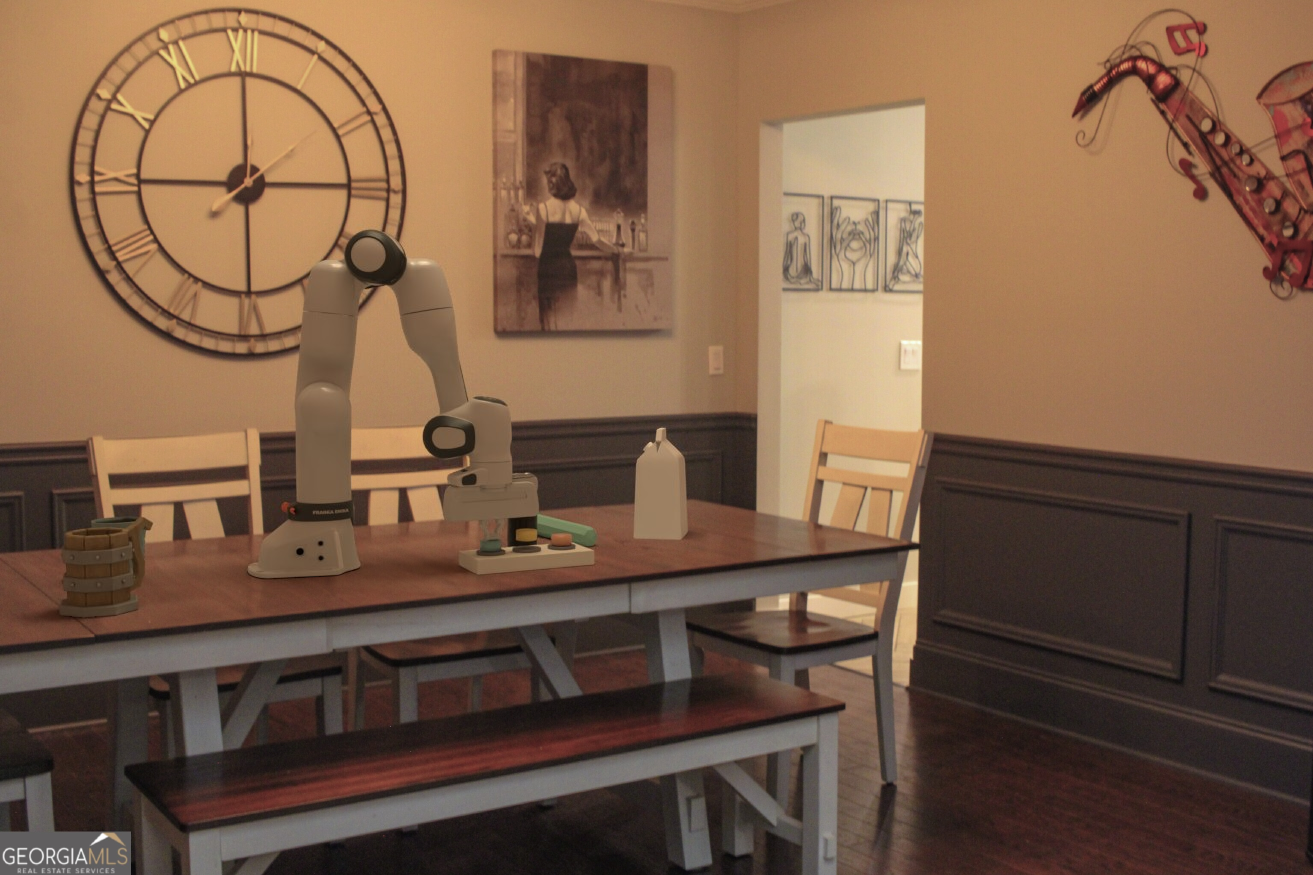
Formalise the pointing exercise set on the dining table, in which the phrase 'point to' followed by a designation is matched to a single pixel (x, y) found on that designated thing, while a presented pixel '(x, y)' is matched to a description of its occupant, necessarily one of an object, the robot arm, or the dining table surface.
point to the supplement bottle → (520, 523)
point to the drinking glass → (121, 523)
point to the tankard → (102, 570)
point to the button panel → (525, 558)
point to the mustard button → (526, 534)
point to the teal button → (490, 545)
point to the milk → (660, 492)
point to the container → (566, 530)
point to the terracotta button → (561, 539)
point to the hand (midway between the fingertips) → (492, 540)
